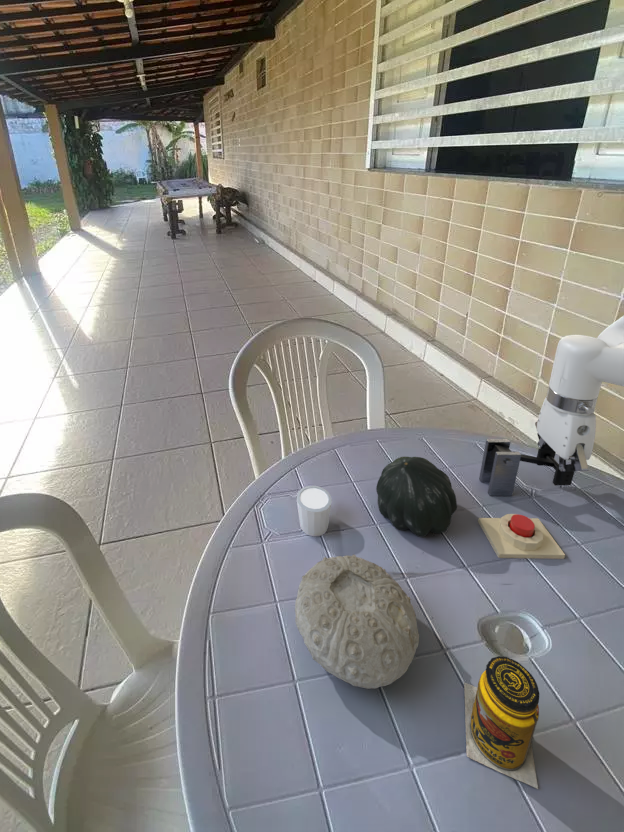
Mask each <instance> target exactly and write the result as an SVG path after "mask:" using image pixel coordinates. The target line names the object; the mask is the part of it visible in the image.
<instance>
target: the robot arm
mask: <svg viewBox="0 0 624 832" xmlns="http://www.w3.org/2000/svg"><path fill="white" fill-rule="evenodd" d="M553 359H554V360H553V364H552V367H551V368H552V369H551V373H550V374H551V375H550V377H549V383H548V387H547V391H546V396H545V398H544V399H543V403H542V405H541V407H540V410H539V414H538V419H537V421H535V422H534V426H535V428H536V432H537V433H536V435H537V438H538V441H537V447H538V449H537V454H536V457H538V458H544V455H545V454H547V453H548V454H550V455H551V456H552V457H553V458H554V459H555V457H556V455H557V456H558V464H559V467H557V468H556V470H555V469H554V475H553V478H552V484H553V485H554V486H572V484H573V483H572V482H573V479H574V475H575V472H588V471H589V465H588V461H589V460H590V459H591V457H592V454H593V449H594V444H595V438H596V432H597V431H596V430H597V419H596V418H597V415H596V414H595V410H596V407H597V401H598V399H599V394H600V391H601V388H602V385H603V383H607V384H612V385H616V386H619V387H622V388H623V387H624V315H622V316H620V317H619V318H618V319H617V320H615V321H614V322H612V323H611V324H610V325H609V326H607V327H606V328H605V329H604V330H602V331H601V332H600V333H599V335H597V336H596V337H595V336H590V335H585V334H569V335H568V334H567V335H564V336H562V337H561V338H560V339H559V341H558V343H557V346H556V350H555V354H554V358H553ZM544 459H545V458H544ZM568 460H570V463H568V464H567V461H568ZM536 466H544V465H539V464H536Z"/></svg>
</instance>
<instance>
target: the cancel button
mask: <svg viewBox="0 0 624 832" xmlns="http://www.w3.org/2000/svg"><path fill="white" fill-rule="evenodd" d="M515 514H516V515H513V516H512V517H511V521H510V529H511V530H512V531H513V532H514V533H515V534H517V535H519V536H521V537H526V538H528V537H531V536H532V535H533V532H534V528H535V525H534V523H533V521H532V520H530V519H529V518H530V517H528V516H526V515H523V514H518V513H515Z"/></svg>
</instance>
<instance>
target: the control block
mask: <svg viewBox="0 0 624 832" xmlns="http://www.w3.org/2000/svg"><path fill="white" fill-rule="evenodd" d="M516 514H517V513H506V514H504V515H503V516H501V517H478V520H477V523H478V525H479V526H480V528H481V529H482V532H483V533H484V535H485V537H486V538H487V540H488V542H489V544H490V545H491V547H492V550H493V551H494V552H495V555H496V556H497V558H498V559H541V560H544V559H547V560H548V559H549V560H550V559H553V560H564V559H565V558H566V554H565V553H564V551H563V550H562V549H561V547H560V546H559V544H558V542H556V540H555V539H554V538H553V536H552V535H551V533H550V532H549V531H548V528H546V526H545V525H544V524H543V523H542V521H541V520H540V519H539V518H538V517H536V518H535V517H534V518H533V517H528V518H529V519H530V520H532V521H533V523H534V525H535V528H534V532H533V535H532V536H531V537H528V538H526V537H521V536H519V535H517V534H515V533H514V532H513V531H512V530H511V529H510V521H511V517H512V516H513V515H516Z"/></svg>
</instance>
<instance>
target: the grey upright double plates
mask: <svg viewBox="0 0 624 832" xmlns="http://www.w3.org/2000/svg"><path fill="white" fill-rule="evenodd" d="M495 445H499V446H504V447H508V448H509V449H510V448H511V447H510V446H511V441H510V440H509V439H508V438H505V439H504V438H492V439H491V438H490V439H489V438H486V439H485V445H484V450H483V454H482V455H483V456H482V460H481V465H480V466H481V467H480V472H479V477H478V480H479V482H480V483H489V485H488V489H487V494H488V495H489V497H513V494H514V489H515V485H516V479H517V477H518V476H517V475H518V471H519V466H520V463H521V461H520V458H521V454H522V453H520V452H519V451H512V452H496V453H495V458H493V457H492V455H491V452H492V450H493V448H494V446H495Z"/></svg>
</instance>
